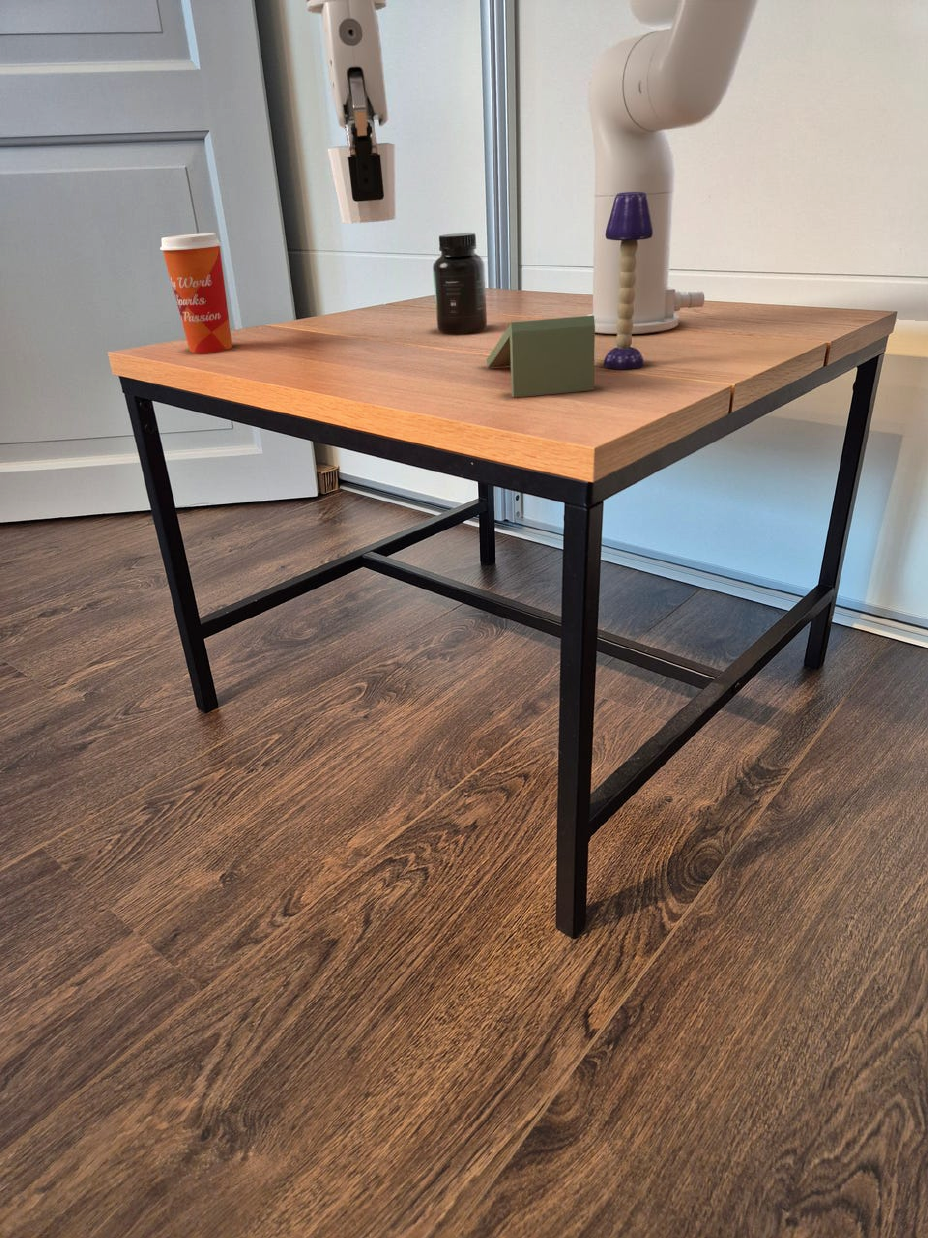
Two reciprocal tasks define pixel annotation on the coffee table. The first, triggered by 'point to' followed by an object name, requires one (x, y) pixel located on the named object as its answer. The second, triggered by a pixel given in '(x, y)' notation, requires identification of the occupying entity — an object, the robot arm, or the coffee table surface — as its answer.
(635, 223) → the toy lamp
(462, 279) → the supplement bottle
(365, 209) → the white faceted cup
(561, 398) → the coffee table surface
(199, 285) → the paper cup
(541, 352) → the green tent sign
